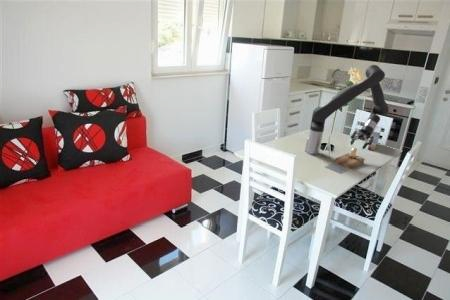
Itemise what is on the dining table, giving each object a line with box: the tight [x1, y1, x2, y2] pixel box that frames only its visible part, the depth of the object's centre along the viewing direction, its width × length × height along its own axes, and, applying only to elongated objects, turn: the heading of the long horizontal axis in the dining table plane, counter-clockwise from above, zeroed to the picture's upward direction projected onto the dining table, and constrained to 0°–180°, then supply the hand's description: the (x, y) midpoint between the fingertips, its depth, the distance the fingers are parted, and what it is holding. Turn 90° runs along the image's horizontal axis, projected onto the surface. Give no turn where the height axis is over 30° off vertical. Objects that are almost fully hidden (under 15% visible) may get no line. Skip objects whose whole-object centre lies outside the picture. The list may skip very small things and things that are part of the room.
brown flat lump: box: [334, 152, 365, 170], centre depth 217 cm, size 12×18×4 cm, turn 132°
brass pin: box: [350, 147, 358, 159], centre depth 217 cm, size 3×3×10 cm
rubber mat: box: [324, 163, 349, 175], centre depth 206 cm, size 12×10×1 cm
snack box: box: [367, 125, 383, 152], centre depth 251 cm, size 21×6×15 cm, turn 151°
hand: (357, 146), depth 217 cm, fingers open, 8 cm apart
